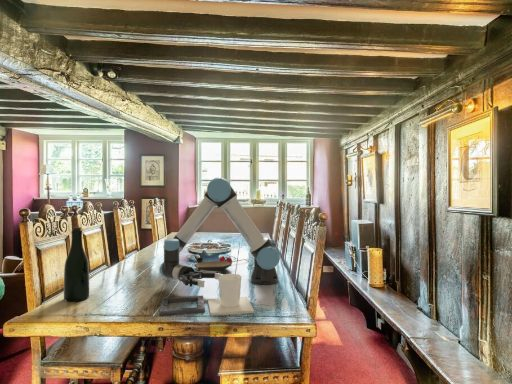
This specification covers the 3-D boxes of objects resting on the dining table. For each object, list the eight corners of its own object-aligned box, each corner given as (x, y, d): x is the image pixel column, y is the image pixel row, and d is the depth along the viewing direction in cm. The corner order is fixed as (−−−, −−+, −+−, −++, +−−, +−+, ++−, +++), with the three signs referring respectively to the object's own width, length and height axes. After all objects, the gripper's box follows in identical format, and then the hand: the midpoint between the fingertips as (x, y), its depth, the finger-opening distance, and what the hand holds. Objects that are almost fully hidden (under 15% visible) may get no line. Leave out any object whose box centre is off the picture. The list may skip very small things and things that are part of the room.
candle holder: (237, 309, 144) (238, 280, 144) (215, 307, 146) (215, 278, 146) (243, 301, 153) (243, 274, 153) (222, 299, 155) (222, 273, 155)
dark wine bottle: (71, 294, 164) (72, 225, 164) (93, 295, 164) (93, 225, 163) (58, 302, 153) (58, 228, 153) (81, 302, 153) (81, 228, 153)
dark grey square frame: (202, 298, 160) (202, 295, 160) (204, 312, 142) (204, 308, 142) (162, 300, 156) (162, 297, 156) (159, 315, 139) (159, 311, 139)
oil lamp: (201, 278, 197) (201, 264, 197) (187, 267, 224) (188, 255, 224) (237, 274, 207) (237, 261, 207) (220, 264, 234) (220, 252, 234)
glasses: (218, 262, 240) (218, 255, 240) (236, 259, 251) (236, 252, 251) (231, 265, 230) (231, 258, 230) (249, 262, 241) (249, 255, 241)
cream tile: (246, 299, 160) (246, 296, 160) (254, 312, 142) (254, 310, 142) (207, 301, 156) (207, 299, 156) (210, 315, 139) (210, 313, 139)
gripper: (202, 276, 178) (233, 283, 165) (162, 286, 159) (193, 296, 145) (203, 261, 178) (233, 267, 165) (162, 270, 158) (193, 278, 145)
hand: (214, 281), depth 155 cm, fingers open, 13 cm apart
